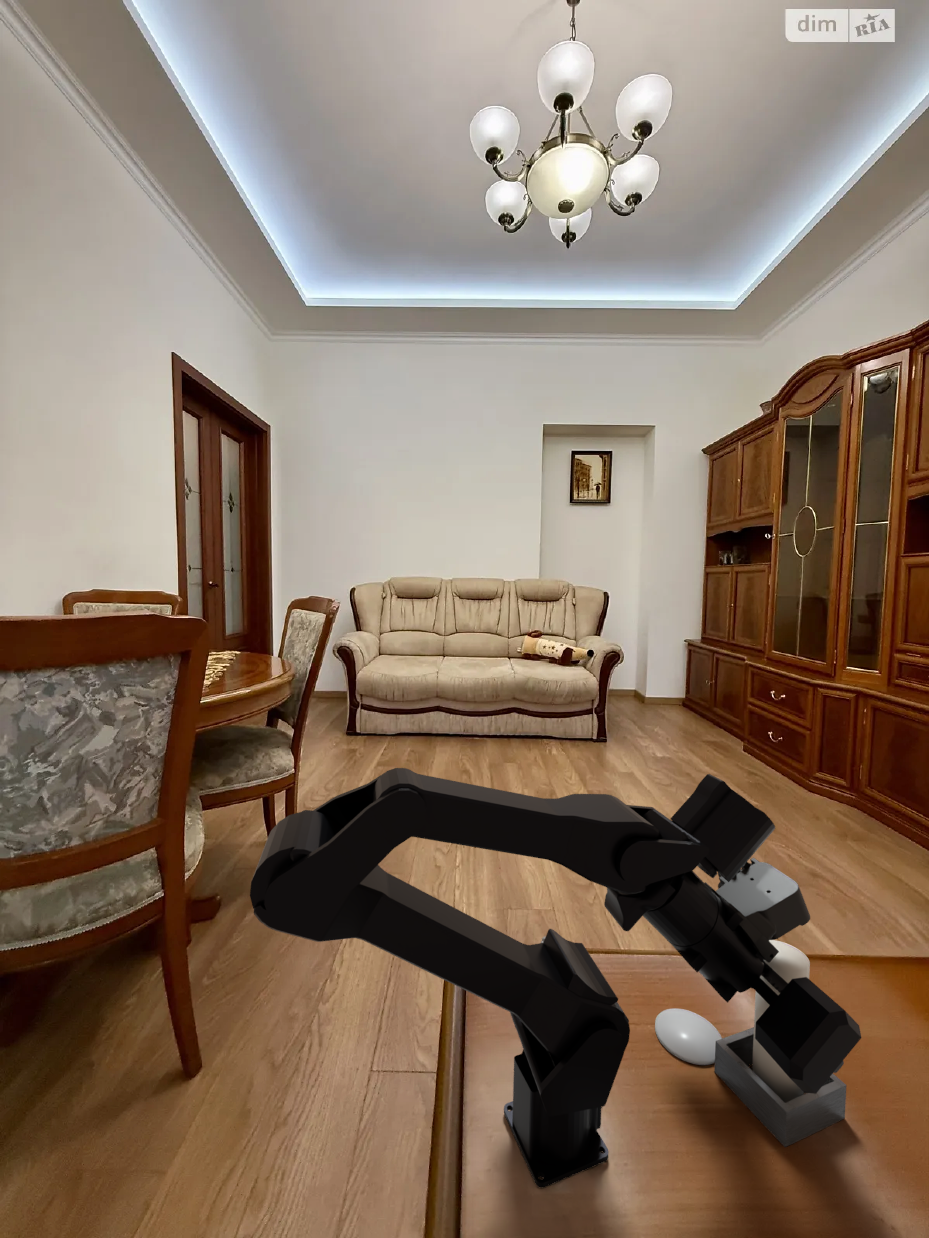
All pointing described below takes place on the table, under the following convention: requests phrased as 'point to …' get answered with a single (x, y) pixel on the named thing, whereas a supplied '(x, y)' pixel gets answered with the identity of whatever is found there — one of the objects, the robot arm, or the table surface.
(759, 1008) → the cream peg
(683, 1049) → the white oval disc
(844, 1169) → the table surface
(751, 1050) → the frame
